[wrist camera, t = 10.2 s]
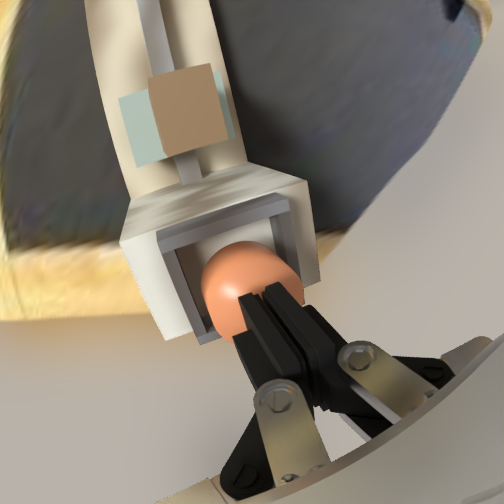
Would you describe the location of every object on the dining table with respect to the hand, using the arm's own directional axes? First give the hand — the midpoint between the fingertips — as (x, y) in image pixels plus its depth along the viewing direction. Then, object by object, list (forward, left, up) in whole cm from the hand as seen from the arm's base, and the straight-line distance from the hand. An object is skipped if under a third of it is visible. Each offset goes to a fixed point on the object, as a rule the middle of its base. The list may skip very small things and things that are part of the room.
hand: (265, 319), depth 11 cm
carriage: (0, -8, -15) cm, 17 cm away
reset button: (0, 0, -3) cm, 3 cm away
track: (0, -11, -16) cm, 20 cm away
